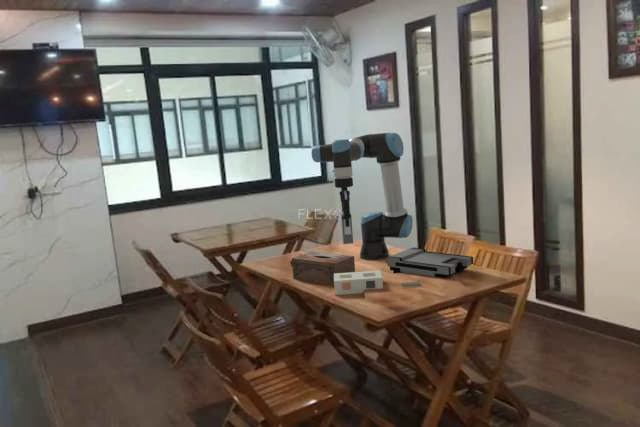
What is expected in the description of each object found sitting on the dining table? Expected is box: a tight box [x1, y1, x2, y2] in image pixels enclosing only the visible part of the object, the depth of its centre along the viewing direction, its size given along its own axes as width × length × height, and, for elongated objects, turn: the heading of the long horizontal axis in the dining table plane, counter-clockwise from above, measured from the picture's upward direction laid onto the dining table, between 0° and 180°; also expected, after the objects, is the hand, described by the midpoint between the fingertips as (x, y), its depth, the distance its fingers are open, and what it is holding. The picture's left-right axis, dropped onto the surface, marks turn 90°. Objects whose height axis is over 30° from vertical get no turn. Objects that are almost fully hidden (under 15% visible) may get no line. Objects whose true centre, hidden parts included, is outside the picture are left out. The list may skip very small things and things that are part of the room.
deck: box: [400, 281, 423, 289], centre depth 231 cm, size 8×8×2 cm
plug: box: [340, 211, 354, 245], centre depth 232 cm, size 4×4×13 cm
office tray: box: [386, 247, 474, 279], centre depth 253 cm, size 21×32×8 cm, turn 46°
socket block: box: [333, 269, 384, 296], centre depth 236 cm, size 12×20×6 cm, turn 89°
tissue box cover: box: [291, 251, 356, 285], centre depth 259 cm, size 26×14×10 cm, turn 50°
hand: (347, 233), depth 232 cm, fingers closed on plug, 4 cm apart
